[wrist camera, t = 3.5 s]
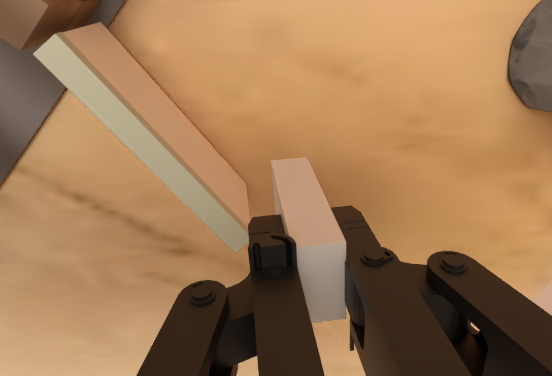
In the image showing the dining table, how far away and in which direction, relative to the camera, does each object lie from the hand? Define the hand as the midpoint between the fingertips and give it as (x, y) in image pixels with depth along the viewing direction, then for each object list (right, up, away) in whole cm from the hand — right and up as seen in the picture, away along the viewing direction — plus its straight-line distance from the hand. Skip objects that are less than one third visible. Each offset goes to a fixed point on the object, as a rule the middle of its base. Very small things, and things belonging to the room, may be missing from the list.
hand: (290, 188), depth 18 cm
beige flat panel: (-7, +5, +11) cm, 14 cm away
